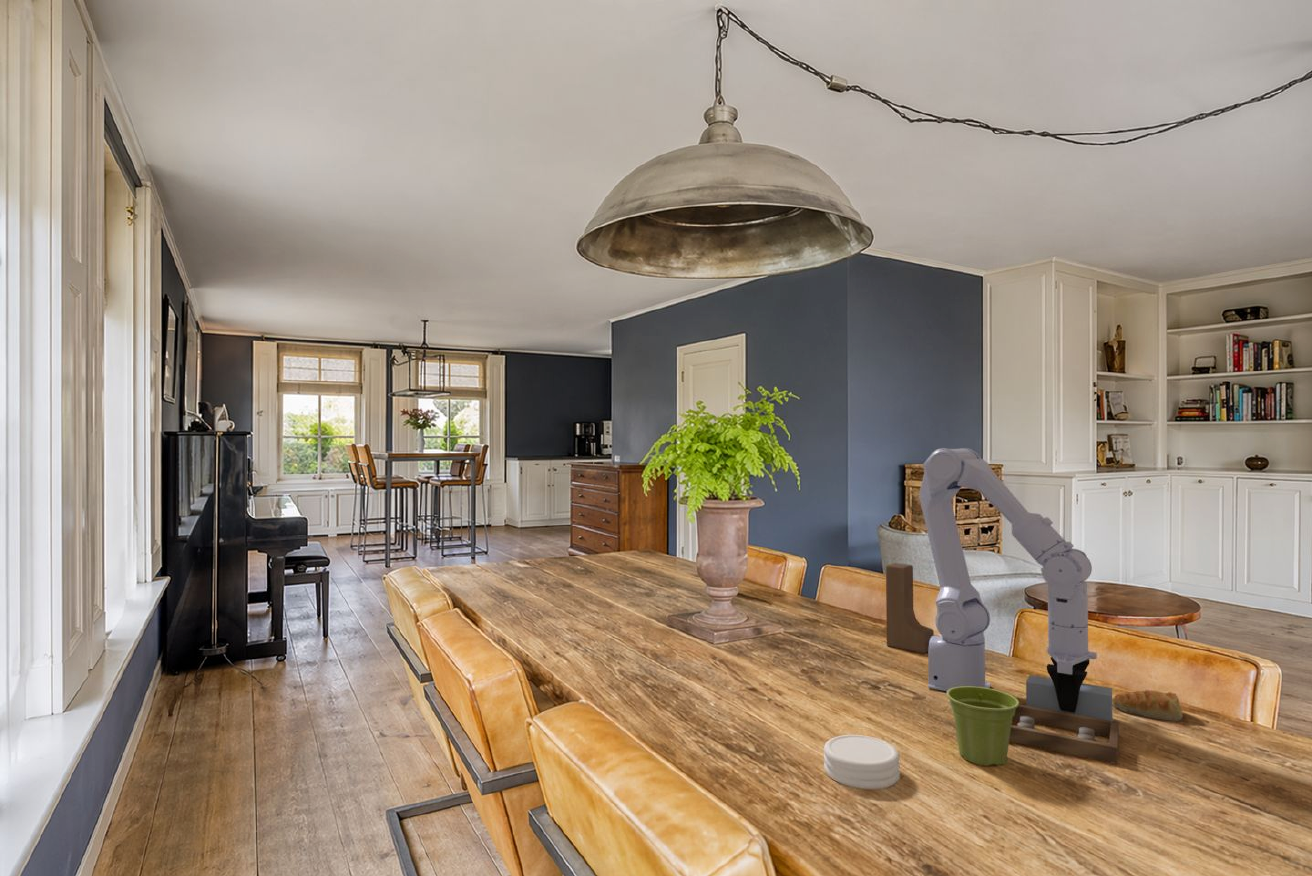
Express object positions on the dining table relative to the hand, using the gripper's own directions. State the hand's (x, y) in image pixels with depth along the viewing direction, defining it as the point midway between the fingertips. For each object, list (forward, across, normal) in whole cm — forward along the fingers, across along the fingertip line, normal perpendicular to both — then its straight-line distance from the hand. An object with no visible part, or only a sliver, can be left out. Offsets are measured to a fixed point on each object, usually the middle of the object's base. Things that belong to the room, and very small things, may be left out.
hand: (1068, 706), depth 116 cm
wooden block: (+2, +25, +32) cm, 41 cm away
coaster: (+2, -39, +22) cm, 45 cm away
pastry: (+2, +8, -11) cm, 14 cm away
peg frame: (+1, -12, +1) cm, 12 cm away
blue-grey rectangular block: (+2, 0, 0) cm, 2 cm away
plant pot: (+2, -25, +9) cm, 27 cm away
